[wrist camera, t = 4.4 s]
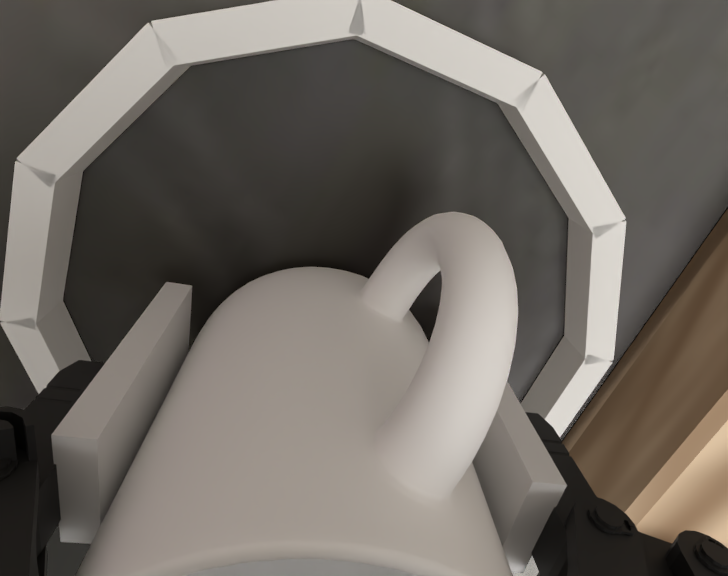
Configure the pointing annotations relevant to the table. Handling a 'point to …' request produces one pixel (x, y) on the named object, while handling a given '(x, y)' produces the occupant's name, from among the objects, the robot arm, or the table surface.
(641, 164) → the table surface
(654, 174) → the table surface
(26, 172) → the socket ring
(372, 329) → the mug
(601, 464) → the oak bin
